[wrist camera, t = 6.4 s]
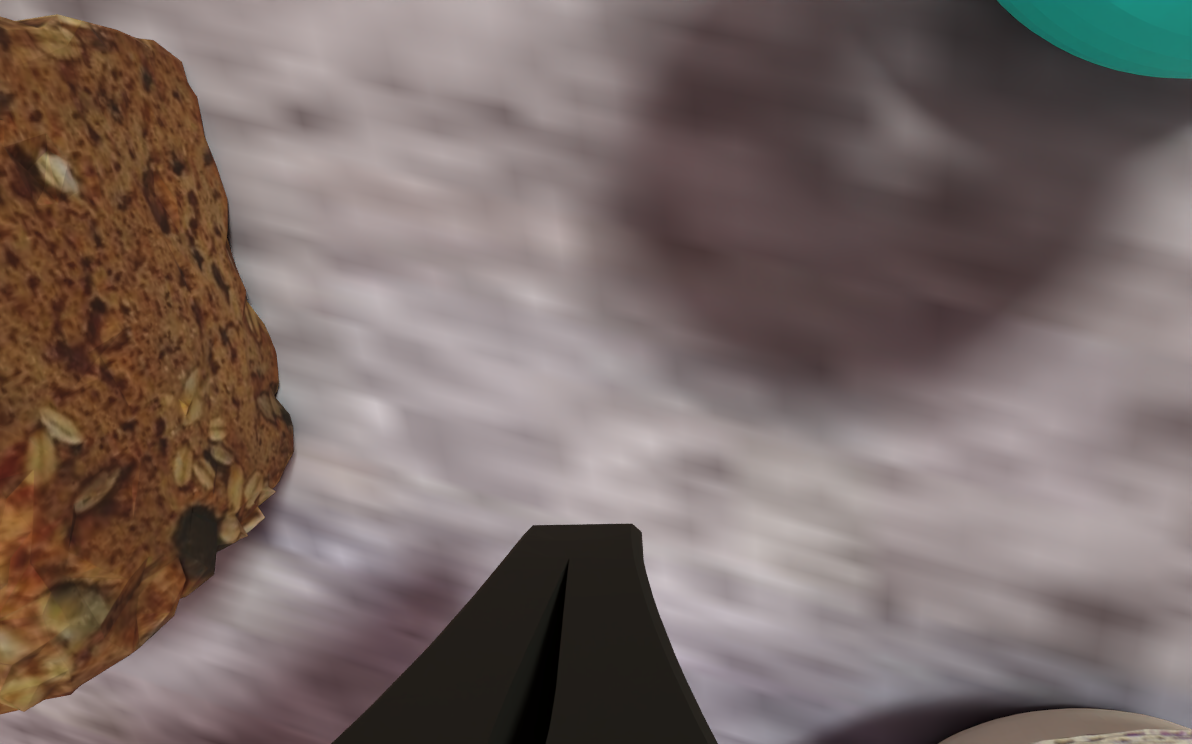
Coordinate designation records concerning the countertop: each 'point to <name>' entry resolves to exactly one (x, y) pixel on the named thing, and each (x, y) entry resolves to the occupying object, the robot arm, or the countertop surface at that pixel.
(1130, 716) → the paper bowls
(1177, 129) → the countertop surface
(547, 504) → the countertop surface
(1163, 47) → the donuts
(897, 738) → the countertop surface
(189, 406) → the bread
